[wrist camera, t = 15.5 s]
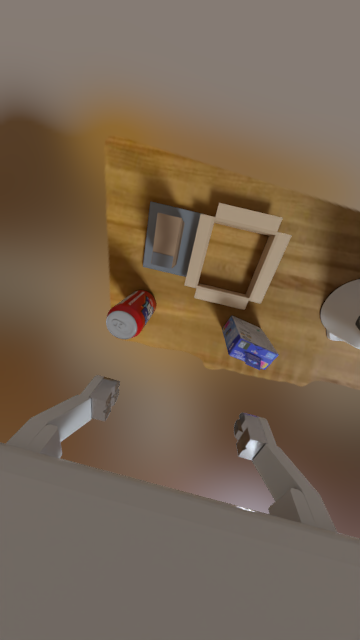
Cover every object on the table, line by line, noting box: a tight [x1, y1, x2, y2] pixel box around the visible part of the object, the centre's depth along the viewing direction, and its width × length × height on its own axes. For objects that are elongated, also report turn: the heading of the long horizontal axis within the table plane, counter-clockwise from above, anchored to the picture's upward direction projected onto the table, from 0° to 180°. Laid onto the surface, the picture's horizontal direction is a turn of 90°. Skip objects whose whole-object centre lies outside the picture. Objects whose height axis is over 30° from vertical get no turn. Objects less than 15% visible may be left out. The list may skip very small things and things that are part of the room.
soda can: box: [106, 290, 156, 339], centre depth 40 cm, size 8×8×15 cm
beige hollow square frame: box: [185, 203, 292, 310], centre depth 39 cm, size 19×20×4 cm
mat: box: [143, 201, 201, 277], centre depth 39 cm, size 12×14×1 cm
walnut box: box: [151, 213, 185, 269], centre depth 35 cm, size 4×9×8 cm, turn 168°
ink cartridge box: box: [222, 316, 279, 370], centre depth 41 cm, size 10×6×14 cm, turn 67°
